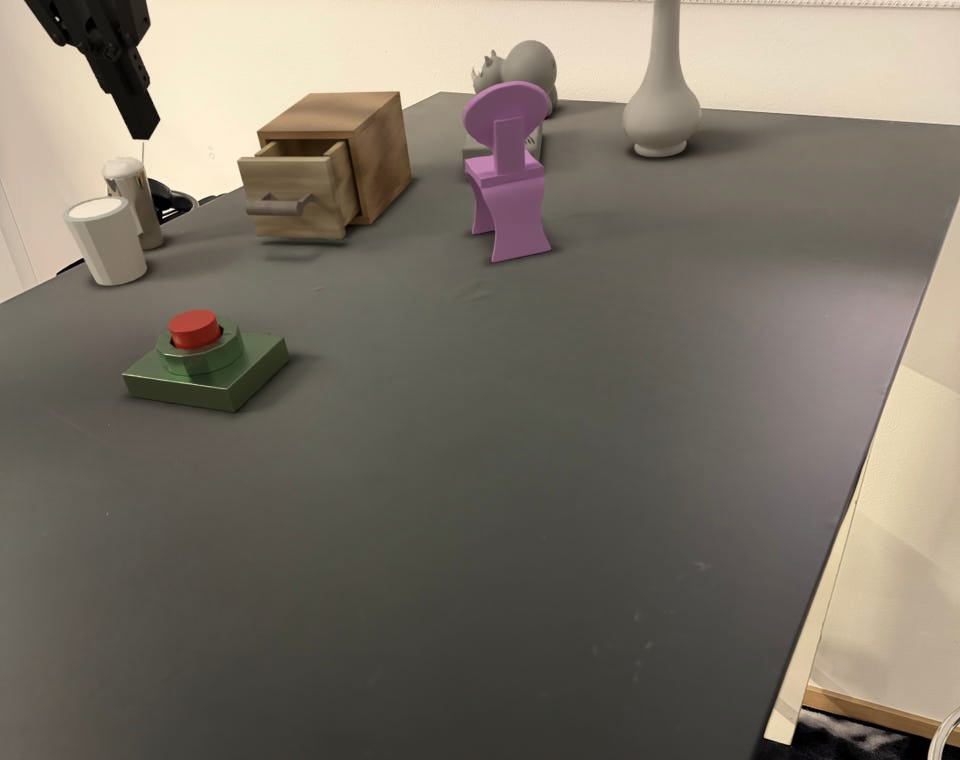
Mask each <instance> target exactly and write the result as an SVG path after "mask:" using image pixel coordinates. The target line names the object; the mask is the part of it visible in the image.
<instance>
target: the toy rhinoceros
mask: <svg viewBox="0 0 960 760" xmlns="http://www.w3.org/2000/svg"><path fill="white" fill-rule="evenodd" d="M483 57H484V63H483V64H482V66H481V72H480V71H477V74H476V72H475V69H474V67H472V68H471V72H470V76H471V80H472V83H473V84H472V87H473V90H474V93H475V95H477V94H479V93H480V92H482V91H483V90H485V89H487V88H489V87H491V86H494V85H497V84H501V83H506V82H511V81H524V82H529V83H532V84H535V85H537V86H539V87H540V88H542V89H543V90H544V92H545V93H546V95H547V99H548V112H547V115H546V117H549V116H551V115H552V113H553V108H555V106H557V104H558V102H559V101H558V100H559V96H558V90H557V87H556V85H555V83H556V80H557V74H558V67H557V62H556V58H555V55H554V53H553V52H552V51H551V49H550V48H549V47H548V46H547V45H545V44H544V43H543V42H542V41H540V40H539V41H538V40H535V39H534V40H533V39H528V40H523V41H521V42H520V43H517V44H516V45H514V47H513V48H511V50H510V51H509V53H508V55H507V56H506V58H502V57H501V56H498V55H497V53H496V51H495V50H494V49H491V51H490V56H488V55H484V56H483Z"/></svg>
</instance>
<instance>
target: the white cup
mask: <svg viewBox="0 0 960 760" xmlns="http://www.w3.org/2000/svg"><path fill="white" fill-rule="evenodd" d="M62 212H63V213H62V214H61V218H62V220H63V221H64V224H65V226H66V227H67V230H68V231H69V233H70V235H71V237H72V239H73V240H74V243H75V244H76V246H77V249H78V250H79V252H80V254H81V256H82V258H83V260H84V262H85V264H86V265H87V268H88V269H89V271H90V273H91V275H92V278H93V279H94V281H95V282H96V283H97V285H101V286H118V285H125V284H127V283H130V282H133V281H135V280H137V279H139V278H141V277H142V276H143V275H144V274H146V273H147V270H148V267H147V263H146V258H145V255H144V252H143V250H142V248H141V245H140V241H139V237H138V234H137V230H136V227H135V223H134V219H133V216H132V212H131V209H130V205H129V201H128V200H127V199H126V198H124V197H119V196H112V195H107V196H106V195H105V196H100V197H94V198H90V199H85V200H82V201H80V202H78V203H76V204H73V205H71V206H69V207H68V208H66V209H65V210H64V211H62Z"/></svg>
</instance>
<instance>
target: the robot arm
mask: <svg viewBox="0 0 960 760" xmlns="http://www.w3.org/2000/svg"><path fill="white" fill-rule="evenodd" d="M23 2H24V3H25V4H26V6H27V7H28V9H29V10H30V11H31V13H32V14H33V16H34V17H35V18H36V20H37V21H38V22H39V24H40V25H41V27H42V29H43V30H44V31H45V32H46V34H47V35H48V36H49V38H50V39H51V41H52V42H53V44H55V45H57V46H58V47H63V48H64V47H65V46H67V45H69V46H71V47H74V48H76V49H77V51H78V52H79V53H80V54H81V55H83V56H84V57H85V59H86V61H87V63H88V66H89V67H90V69H91V71H92V74H93V75H94V78H95V79H96V81H97V84H98V86H99V87H100V89H101V90H102V91H103V93H104V94H105V95H111V97H112V100H113V102H114V103H115V106H116V109H117V110H118V112H119V114H120V116H121V117H122V120H123V122H124V124H125V127H126V128H127V130H128V132H129V135H130V136H131V139H132V140H134V141H150V139H151V137H152V136H153V134H154V132H155V130H156V129H157V127H158V126H159V124H160V123H161V116H160V114H159V111H158V110H157V108H156V105H155V104H154V103H155V102H153V101H154V100H153V99H152V97H151V94H150V92H149V89H148V88H149V87H150V85H151V77H150V74H149V72H148V70H147V68H146V66H145V63H144V61H143V59H142V56H141V54H140V51H139V50H138V47H139V45H140V43H141V42H142V41H143V39H144V37H145V36H146V34H147V33H148V31H149V29H150V28H151V26H152V21H151V16H150V12H149V7H148V4H147V3H148V2H147V0H23Z"/></svg>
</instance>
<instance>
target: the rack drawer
mask: <svg viewBox="0 0 960 760" xmlns="http://www.w3.org/2000/svg"><path fill="white" fill-rule="evenodd" d="M236 163H237V164H236V165H237V167H238V172H239V175H240V178H241V181H242V186H243V189H244V193H245V197H246V202H245V205H244V208H245V212H246V214H247V215H248V216H251V218H252V222H253V225H254V229H255V233H256V236H257V237H258V238H259V237H263V238H264V237H265V238H269V237H270V238H297V239H298V238H299V239H300V238H301V239H306V238H307V239H330V240H342V239H343V238H345V236H346V235H347V233H346V232H347V231H346V226H347V225H349V224H348V223H349V222H350V221H351V220H352V219H353V218H354V217H355V216H356V215H357V214H358V212H359V211H360V210H361V204H360V199H359V194H358V188H357V183H356V178H355V172H354V167H353V162H352V156H351V151H350V145H349V140H348V139H274V140H273V141H272V142H270V143H269V144H268V145H266V146H265V147H264V148H262V149H261V148H260V150H258V151H257V152H256V153H254V156H241V157H240V158H238V159H237V160H236Z"/></svg>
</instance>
